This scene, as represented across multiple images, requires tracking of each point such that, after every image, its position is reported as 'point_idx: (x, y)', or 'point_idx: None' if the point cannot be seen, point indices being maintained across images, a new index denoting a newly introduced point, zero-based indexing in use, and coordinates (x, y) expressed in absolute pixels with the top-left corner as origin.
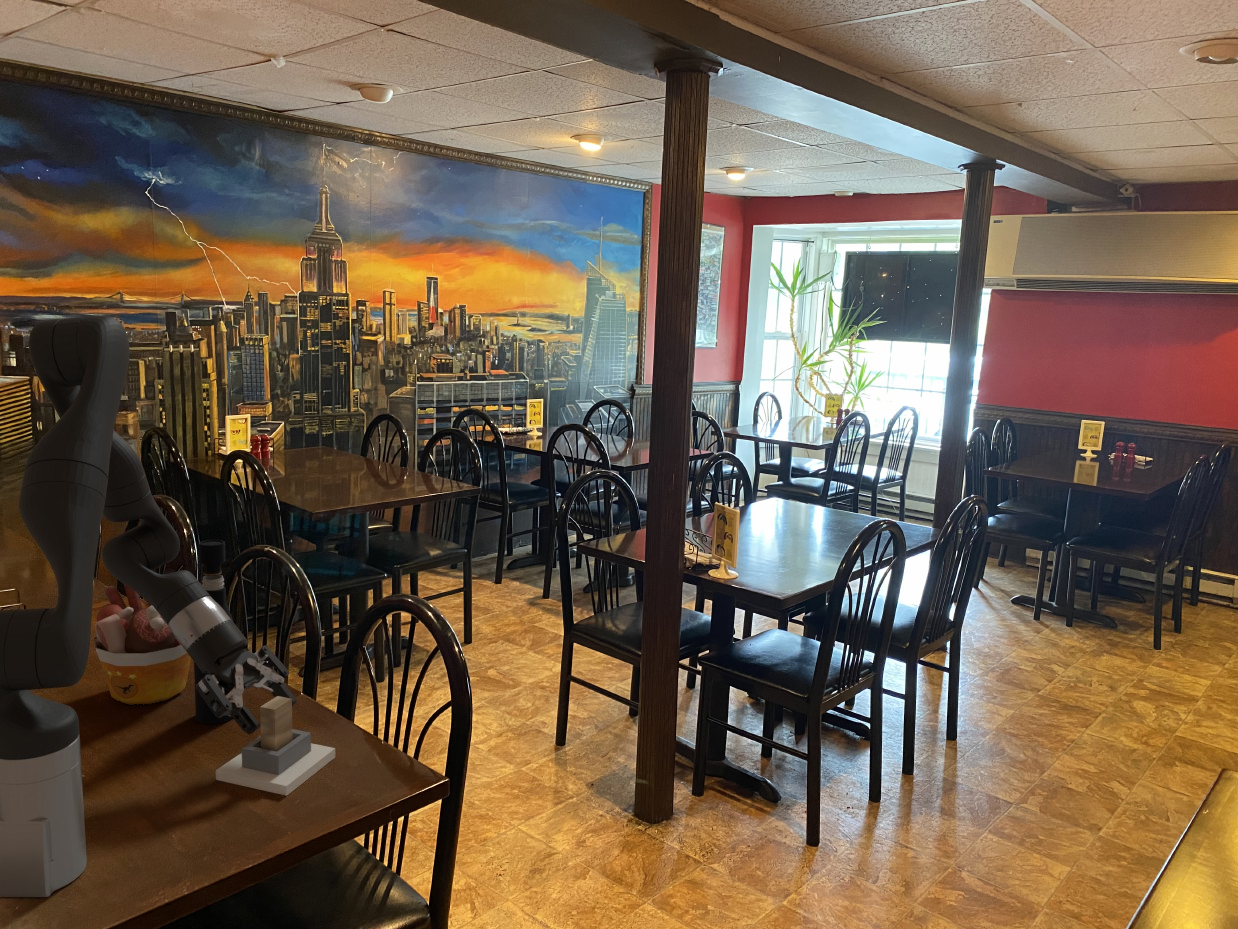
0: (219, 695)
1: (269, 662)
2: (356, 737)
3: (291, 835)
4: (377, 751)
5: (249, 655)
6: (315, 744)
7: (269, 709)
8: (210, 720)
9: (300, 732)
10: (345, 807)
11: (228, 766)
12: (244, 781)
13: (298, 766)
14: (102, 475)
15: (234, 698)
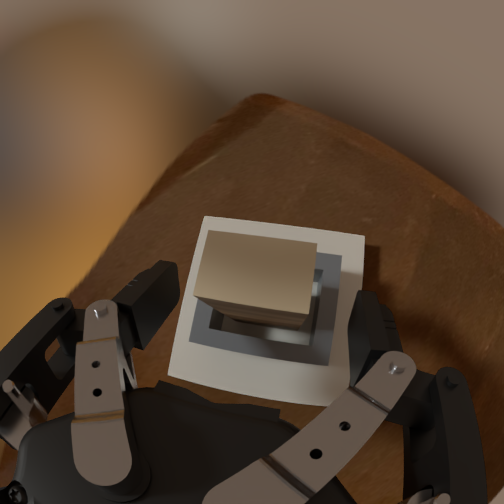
0: (469, 429)
1: (31, 374)
2: (137, 223)
3: (436, 191)
4: (181, 173)
5: (44, 472)
6: (194, 258)
7: (313, 270)
8: None
9: None
10: (354, 151)
11: (324, 392)
12: None
13: None
14: None
15: (400, 395)
